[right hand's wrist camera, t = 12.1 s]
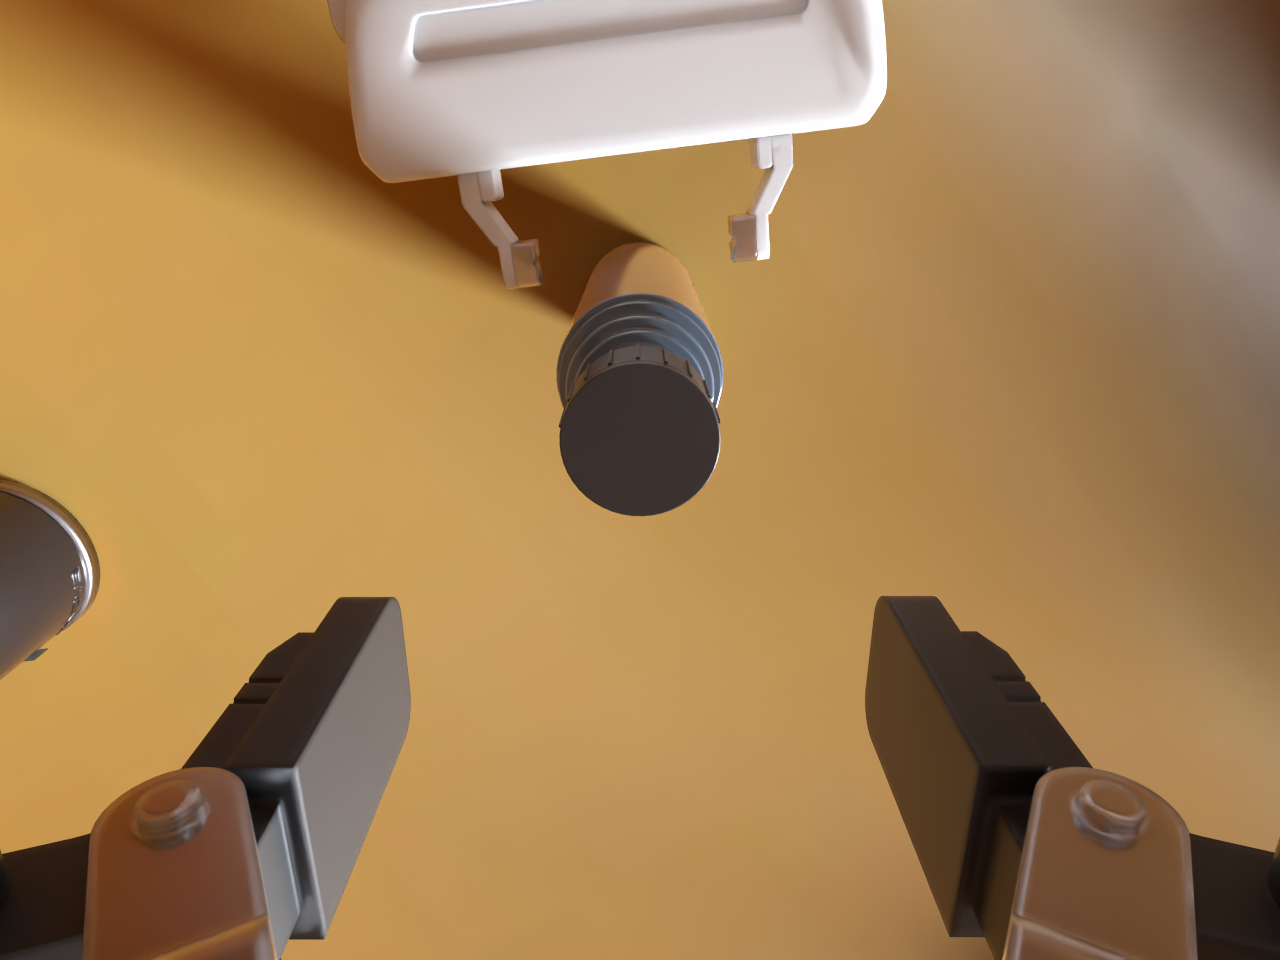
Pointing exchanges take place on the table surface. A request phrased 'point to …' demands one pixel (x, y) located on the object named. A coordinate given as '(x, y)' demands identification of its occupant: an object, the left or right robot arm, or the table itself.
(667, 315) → the bottle
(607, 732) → the table surface
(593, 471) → the cap
